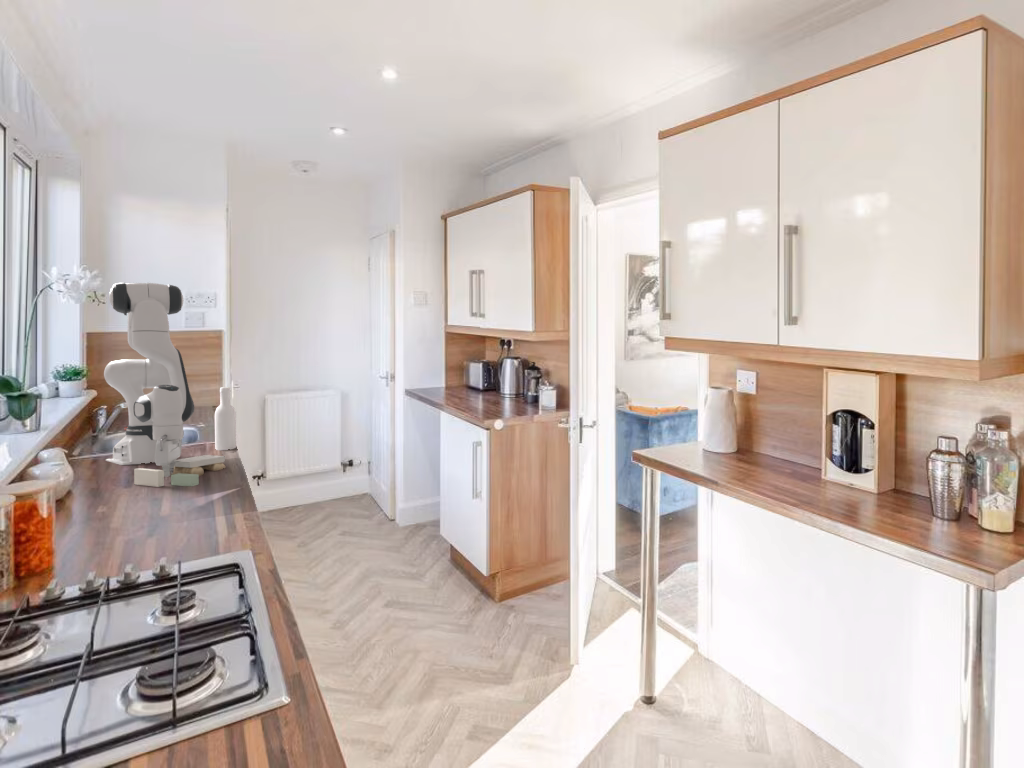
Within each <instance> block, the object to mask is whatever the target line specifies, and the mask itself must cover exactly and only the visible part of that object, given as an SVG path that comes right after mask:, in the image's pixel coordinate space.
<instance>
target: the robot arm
mask: <svg viewBox="0 0 1024 768" xmlns="http://www.w3.org/2000/svg"><path fill="white" fill-rule="evenodd" d="M108 298H109V304H110V305H111V306H112V309H113V310H115V312H117V313H119V314H123V315H124V316H127V343H128V345H129V347H130V348H131V349H132V350H134V351H135V352H137V353H138V354H139V355H141V356H142V357H144V358H146V359H136V358H135V359H134V358H132V359H131V358H129V359H127V358H125V359H119V360H113V361H109V363H107V364H106V366H105V368H104V371H103V377H104V380H105V382H106V384H107V385H109V387H111V388H114V390H116V391H117V392H118V393H119V394H121V396H122V398H123V399H124V400H125V403H126V406H127V412H128V414H127V415H128V425H127V426H125V427H124V431H125V436H123V438H122V439H121V440H119V441H118V442H117V443H116V444H115V445H114V446H113V448H112V458H106V459H105V461H106V462H108V463H109V462H110V463H112V464H116V465H120V466H130V465H142V464H141V463H145V464H151V463H150V462H152V463H155V465H156V466H158V467H159V466H161V470H164V478H165V477H166V478H168V477H171V474H172V473H174V465H175V460H178V459H180V457H181V454H182V446H183V445H182V444H183V438H184V435H185V431H184V423H185V422H187V421H188V420H189V419H191V417H192V416H193V415H194V414H193V413H194V412H195V402H194V400H193V397H192V395H191V392H190V387H189V384H188V383H189V382H188V379H187V373H186V369H185V364H184V360H183V358H182V357H183V356H182V354H181V352H180V350H179V349H177V348H176V347H175V346H174V344H173V342H172V339H171V336H170V335H171V334H170V323H169V318H168V315H174V314H178V313H179V312H180V311H182V308H183V306H184V300H185V299H184V295H183V293H182V290H181V289H180V288H179V286H176V285H173V284H162V283H155V282H127V283H126V282H116V283H114V284H113V285H112V287H111V288H110V291H109V296H108ZM144 389H152V391H150V392H148V393H147V394H145V392H144Z"/></svg>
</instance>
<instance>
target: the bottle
mask: <svg viewBox="0 0 1024 768" xmlns="http://www.w3.org/2000/svg"><path fill="white" fill-rule="evenodd" d="M219 403H220V404H219V405H218V406H217V407H216V409H215V412H214V450H215V449H216V450H215V451H229V450H228V449H230V450H233V449H236V448H237V411H236V409H235V407H234V406H233V405H231V387H227V386H225V387H223V386H222V387H220V388H219Z"/></svg>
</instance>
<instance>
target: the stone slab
mask: <svg viewBox="0 0 1024 768" xmlns="http://www.w3.org/2000/svg"><path fill="white" fill-rule="evenodd" d="M225 462H226V461H225V456H220V455H215V454H214V455H212V454H204V455H197V456H196V455H195V456H192V457H186V458H185V457H184V458H177V459H176V460H175V465H174V467H186V468H193V467H198V466H204V465H209V464H215V463H225Z"/></svg>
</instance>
